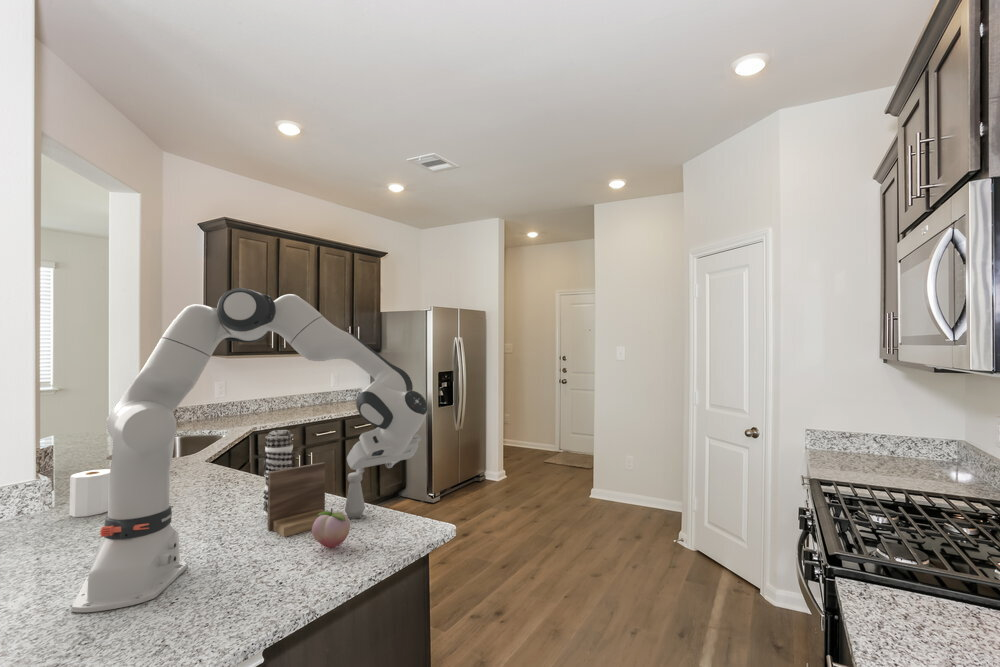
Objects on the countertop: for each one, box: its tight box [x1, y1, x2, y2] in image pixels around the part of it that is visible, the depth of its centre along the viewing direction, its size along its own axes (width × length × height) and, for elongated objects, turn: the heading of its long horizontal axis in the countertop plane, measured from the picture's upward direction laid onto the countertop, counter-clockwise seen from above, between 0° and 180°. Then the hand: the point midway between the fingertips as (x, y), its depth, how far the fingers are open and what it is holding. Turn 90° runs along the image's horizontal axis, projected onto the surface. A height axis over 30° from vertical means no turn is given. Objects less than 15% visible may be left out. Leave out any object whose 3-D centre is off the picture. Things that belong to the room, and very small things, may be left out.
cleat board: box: [267, 461, 326, 538], centre depth 137 cm, size 9×16×16 cm, turn 136°
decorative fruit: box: [311, 508, 351, 549], centre depth 121 cm, size 9×8×10 cm
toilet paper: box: [68, 468, 111, 518], centre depth 150 cm, size 10×10×12 cm
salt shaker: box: [344, 471, 366, 520], centre depth 145 cm, size 6×6×13 cm
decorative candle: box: [262, 429, 296, 517], centre depth 149 cm, size 9×9×25 cm
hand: (373, 469), depth 137 cm, fingers open, 8 cm apart
